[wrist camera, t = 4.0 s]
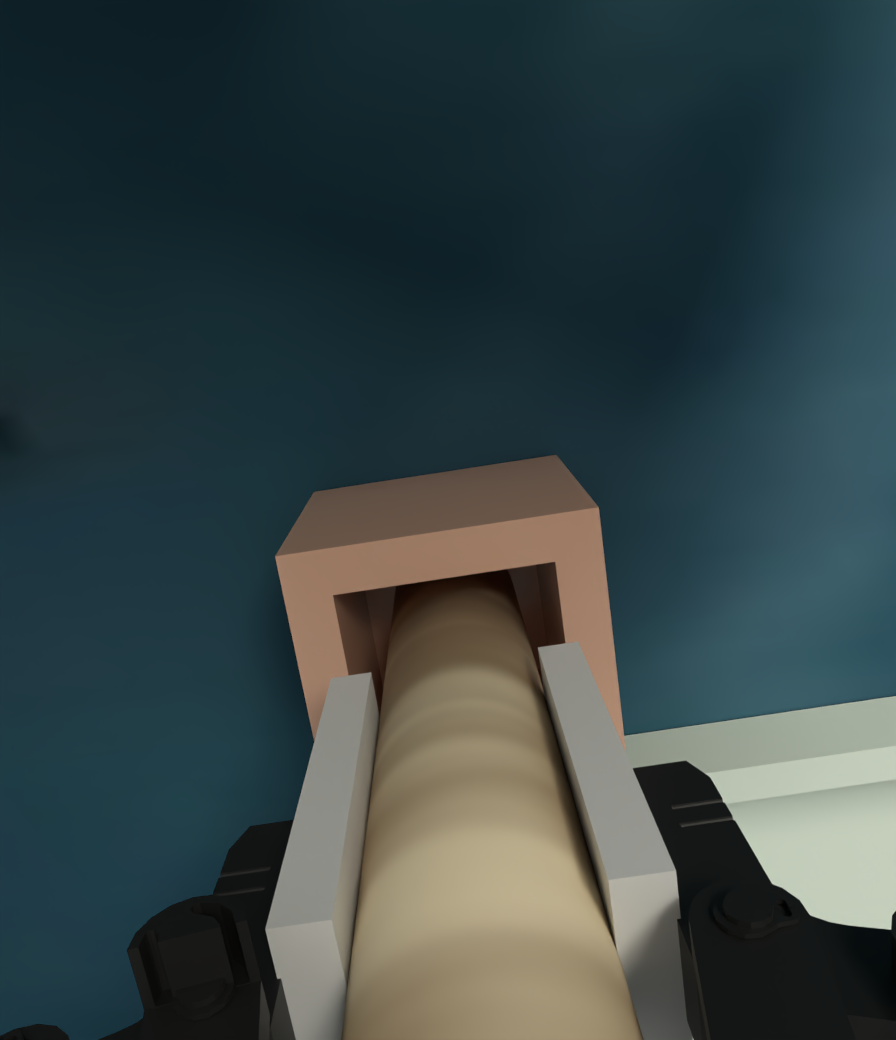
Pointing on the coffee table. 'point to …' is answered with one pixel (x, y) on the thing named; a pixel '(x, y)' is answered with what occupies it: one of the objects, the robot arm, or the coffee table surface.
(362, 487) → the holder
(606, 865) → the robot arm
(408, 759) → the pin
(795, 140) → the coffee table surface
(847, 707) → the tray
